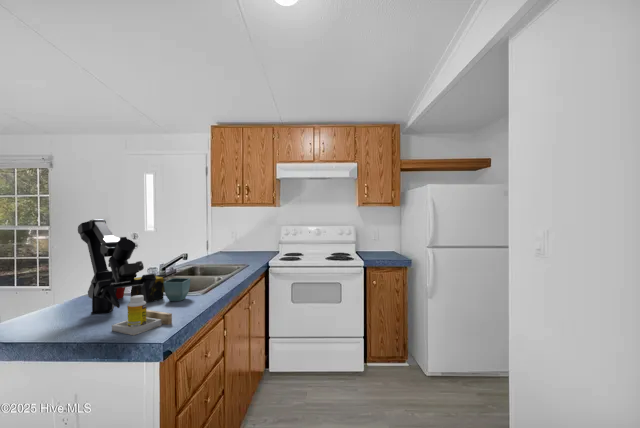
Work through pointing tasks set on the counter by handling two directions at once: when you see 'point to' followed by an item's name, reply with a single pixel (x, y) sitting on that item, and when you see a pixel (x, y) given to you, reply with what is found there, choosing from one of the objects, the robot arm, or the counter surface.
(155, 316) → the oak sill
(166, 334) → the counter surface
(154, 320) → the square tray
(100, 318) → the counter surface
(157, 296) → the yellow and black cube
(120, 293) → the plastic cup
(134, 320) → the supplement bottle
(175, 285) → the flower pot
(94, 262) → the robot arm
